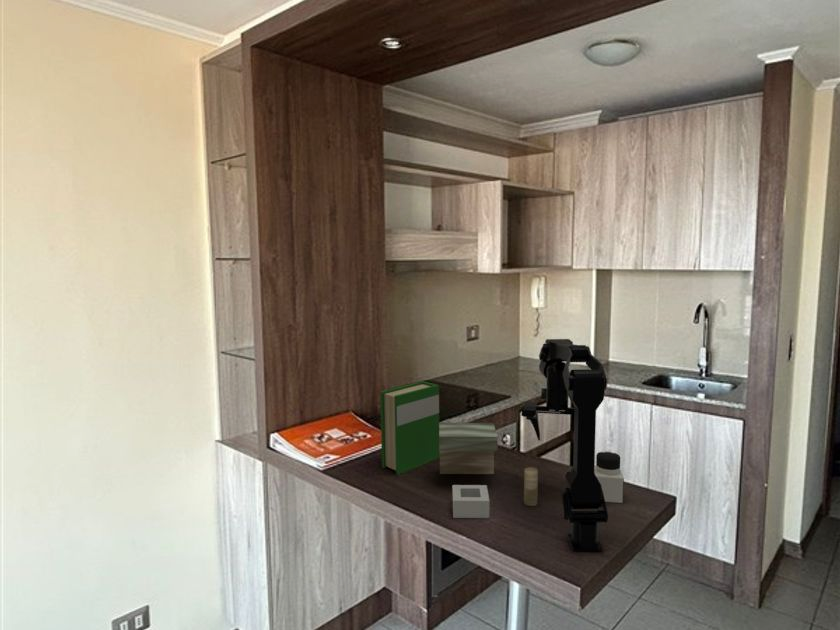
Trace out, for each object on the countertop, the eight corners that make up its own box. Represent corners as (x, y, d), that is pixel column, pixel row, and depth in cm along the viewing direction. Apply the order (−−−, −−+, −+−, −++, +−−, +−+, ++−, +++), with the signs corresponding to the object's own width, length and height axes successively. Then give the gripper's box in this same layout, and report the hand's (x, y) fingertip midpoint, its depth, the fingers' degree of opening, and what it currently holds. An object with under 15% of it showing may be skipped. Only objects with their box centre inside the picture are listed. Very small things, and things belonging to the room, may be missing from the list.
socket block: (489, 518, 137) (489, 501, 136) (453, 517, 137) (453, 500, 137) (486, 501, 146) (486, 485, 145) (452, 501, 146) (452, 484, 146)
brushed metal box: (497, 489, 153) (497, 437, 151) (439, 488, 154) (439, 436, 152) (493, 471, 165) (493, 423, 163) (439, 471, 166) (439, 422, 164)
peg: (538, 505, 143) (539, 472, 142) (524, 505, 143) (525, 472, 142) (536, 499, 147) (536, 467, 145) (522, 499, 147) (523, 467, 146)
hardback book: (398, 475, 163) (396, 396, 160) (381, 467, 169) (380, 391, 166) (439, 458, 176) (438, 385, 172) (423, 452, 181) (422, 381, 178)
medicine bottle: (623, 503, 144) (624, 459, 142) (594, 501, 145) (595, 457, 144) (618, 491, 151) (620, 449, 149) (591, 489, 152) (593, 447, 151)
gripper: (591, 379, 154) (590, 433, 155) (523, 377, 158) (523, 429, 160) (594, 389, 143) (593, 447, 145) (521, 386, 147) (521, 442, 149)
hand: (556, 441), depth 150 cm, fingers open, 9 cm apart
